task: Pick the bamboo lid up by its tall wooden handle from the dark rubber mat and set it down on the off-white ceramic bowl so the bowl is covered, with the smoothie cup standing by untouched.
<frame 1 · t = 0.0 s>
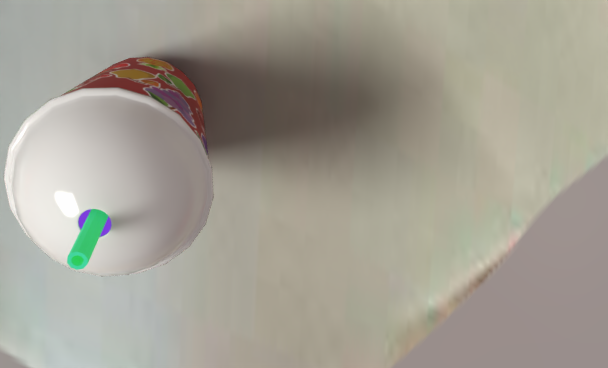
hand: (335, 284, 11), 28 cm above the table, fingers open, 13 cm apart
smoothie: (149, 106, 37), on the table
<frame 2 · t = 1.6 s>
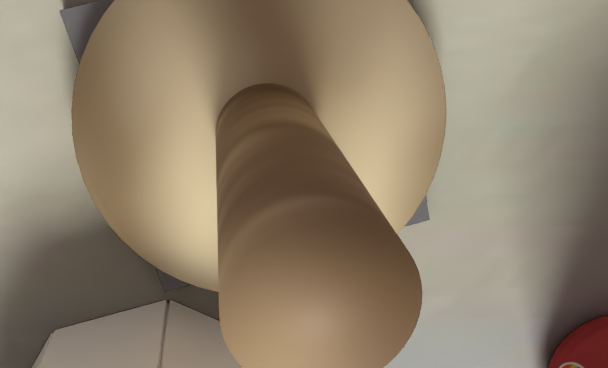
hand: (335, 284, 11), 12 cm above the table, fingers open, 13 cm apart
mat: (263, 122, 22), on the table
smoothie: (597, 359, 29), on the table
lid: (265, 126, 21), point 1 cm above the table, touching mat
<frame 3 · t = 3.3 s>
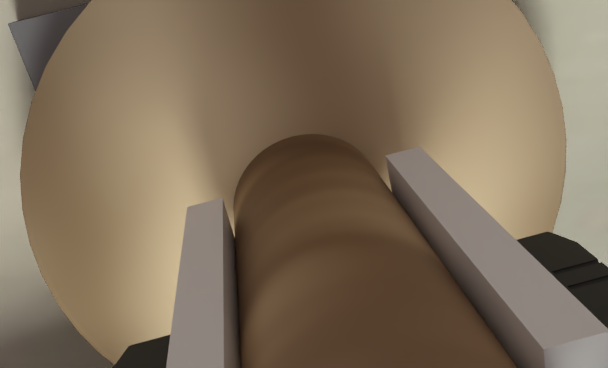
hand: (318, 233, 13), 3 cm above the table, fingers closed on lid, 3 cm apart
mat: (304, 178, 16), on the table
lid: (303, 190, 15), point 1 cm above the table, touching gripper
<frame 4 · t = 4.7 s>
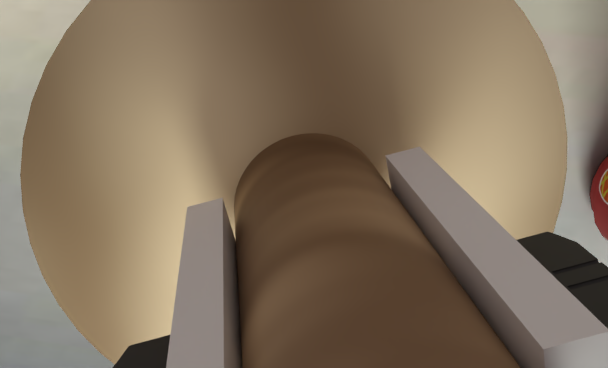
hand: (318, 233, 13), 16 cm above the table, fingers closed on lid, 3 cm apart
lid: (304, 189, 15), point 13 cm above the table, touching gripper
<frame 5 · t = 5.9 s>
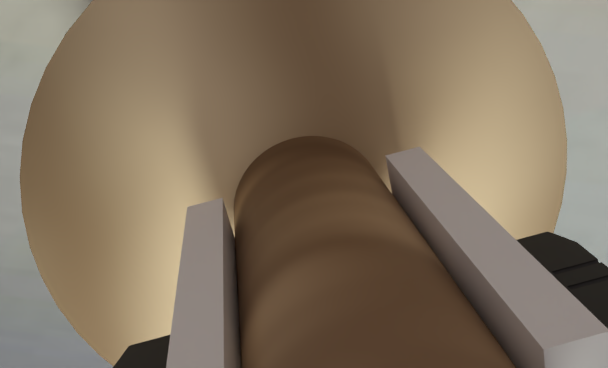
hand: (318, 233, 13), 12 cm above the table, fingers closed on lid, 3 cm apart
lid: (303, 192, 15), point 9 cm above the table, touching gripper
when the fingers open (9 cm above the table, at t = 6.5 s): lid drops 2 cm, resting on bowl.
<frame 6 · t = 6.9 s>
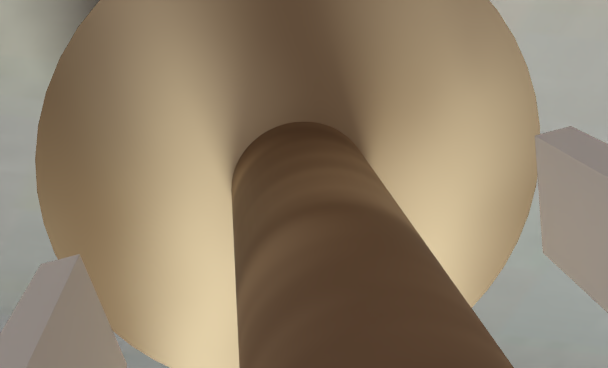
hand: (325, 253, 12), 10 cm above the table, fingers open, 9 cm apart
lid: (296, 175, 16), point 5 cm above the table, touching bowl
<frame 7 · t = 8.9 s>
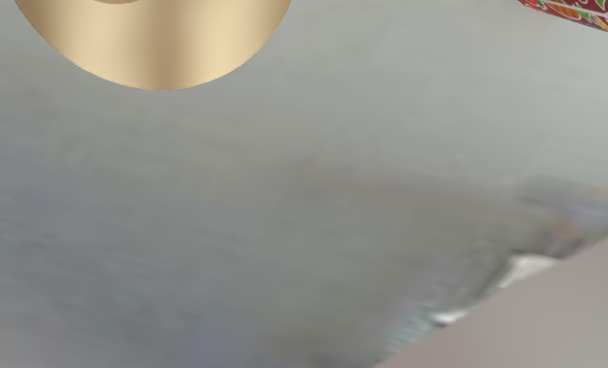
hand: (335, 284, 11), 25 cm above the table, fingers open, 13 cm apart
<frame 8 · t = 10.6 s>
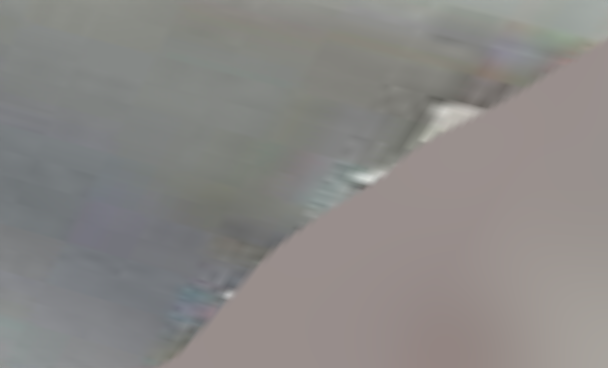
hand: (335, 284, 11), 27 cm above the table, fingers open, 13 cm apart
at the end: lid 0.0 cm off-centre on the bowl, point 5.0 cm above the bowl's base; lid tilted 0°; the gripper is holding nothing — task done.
